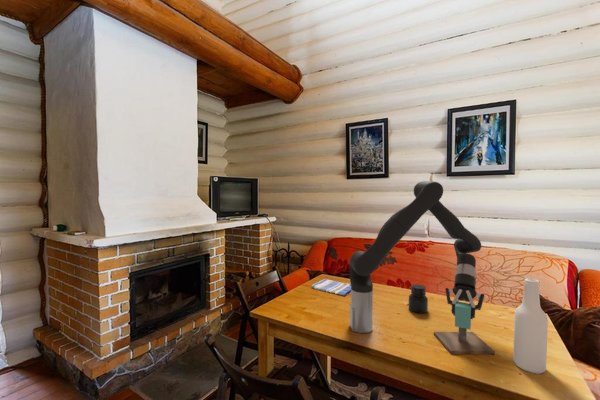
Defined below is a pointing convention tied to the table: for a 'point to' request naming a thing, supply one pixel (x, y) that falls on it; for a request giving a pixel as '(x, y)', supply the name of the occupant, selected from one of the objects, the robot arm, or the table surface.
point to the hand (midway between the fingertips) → (462, 316)
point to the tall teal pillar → (463, 315)
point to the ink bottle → (418, 299)
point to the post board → (463, 342)
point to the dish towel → (333, 287)
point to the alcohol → (530, 331)
